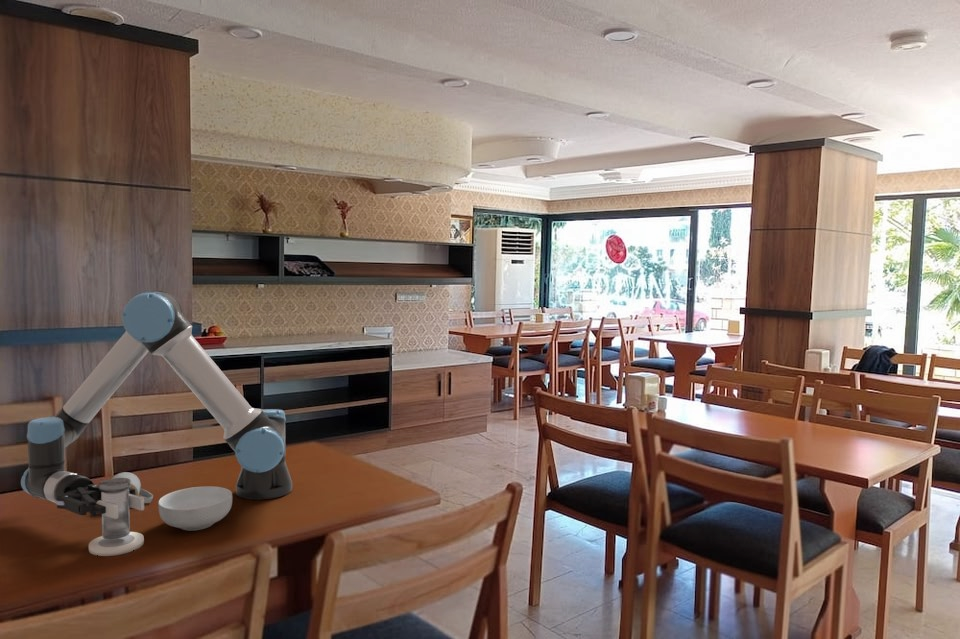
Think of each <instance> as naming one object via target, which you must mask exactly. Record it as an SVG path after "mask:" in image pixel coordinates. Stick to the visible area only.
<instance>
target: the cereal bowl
mask: <svg viewBox="0 0 960 639" xmlns="http://www.w3.org/2000/svg"><path fill="white" fill-rule="evenodd" d="M157 504H158V505H157V506H158V514H159V516H160V519H161V520H162V521H163V522H164V524H166V525H168V526H170V527H173V528H177V529H181V530H183V531H189V532H190V531H201V530H204V529H207V528H210V527H211V526H213V525H214V524H215V523H217V522H220V521H221V520H222V519H224V518H225V517H226V516H227V515H228V514H229V512H230V510H231V509H232V505H233V492H232V491H231V490H230V489H228V488H226V487H222V486H211V485H210V486H208V485H207V486H205V485H204V486H196V487H195V486H194V487H193V486H192V487H188V488H183V489H179V490H175V491H172V492H169V493H167V494H165V495H163V496H162V497H160V499H159V500H158V502H157Z"/></svg>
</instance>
